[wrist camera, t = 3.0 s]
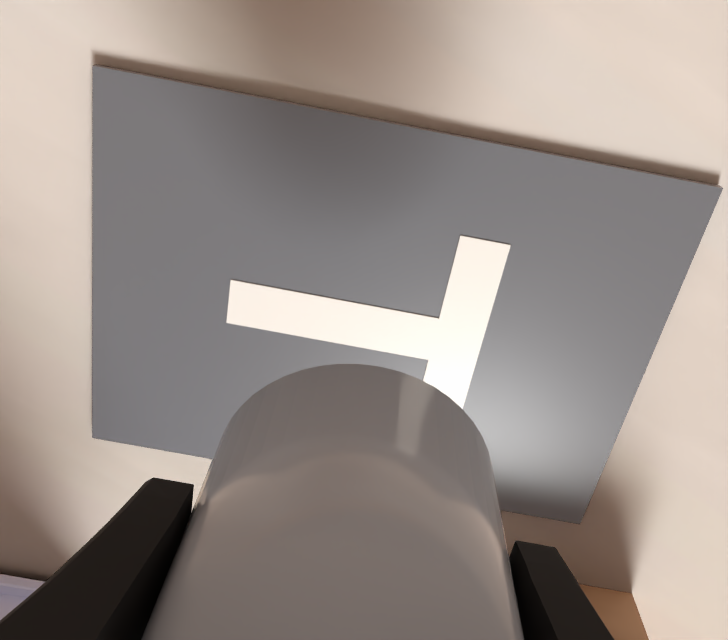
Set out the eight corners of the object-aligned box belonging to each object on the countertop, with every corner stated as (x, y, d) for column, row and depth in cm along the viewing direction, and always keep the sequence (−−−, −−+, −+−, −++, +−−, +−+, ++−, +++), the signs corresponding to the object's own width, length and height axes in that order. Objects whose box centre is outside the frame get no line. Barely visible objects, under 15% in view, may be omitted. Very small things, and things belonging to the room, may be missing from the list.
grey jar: (204, 561, 13) (82, 916, 8) (229, 338, 11) (84, 635, 6) (455, 605, 13) (486, 979, 8) (528, 394, 11) (628, 728, 6)
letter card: (95, 433, 20) (91, 438, 19) (96, 64, 15) (91, 65, 15) (578, 519, 20) (580, 524, 20) (719, 185, 16) (723, 188, 15)
